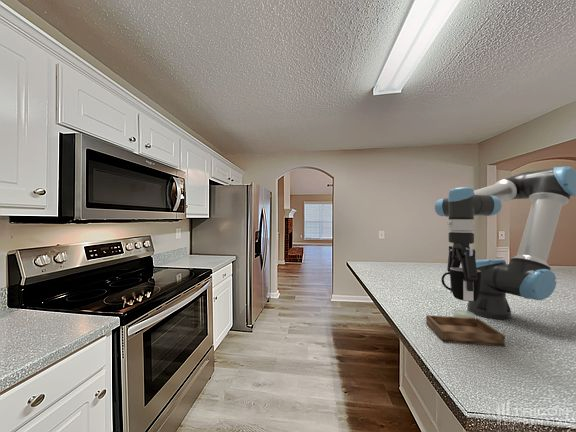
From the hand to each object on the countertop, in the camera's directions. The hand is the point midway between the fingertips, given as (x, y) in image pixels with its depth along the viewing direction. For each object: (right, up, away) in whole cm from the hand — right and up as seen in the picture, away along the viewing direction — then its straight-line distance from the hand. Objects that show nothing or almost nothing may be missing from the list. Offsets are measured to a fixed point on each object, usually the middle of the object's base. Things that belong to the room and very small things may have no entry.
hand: (461, 296), depth 92 cm
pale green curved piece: (+8, -14, +10) cm, 19 cm away
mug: (0, -1, +1) cm, 1 cm away
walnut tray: (0, -13, 0) cm, 13 cm away
